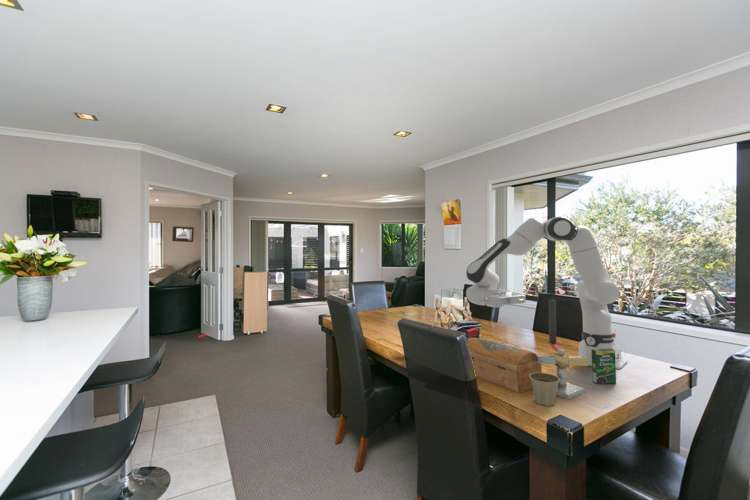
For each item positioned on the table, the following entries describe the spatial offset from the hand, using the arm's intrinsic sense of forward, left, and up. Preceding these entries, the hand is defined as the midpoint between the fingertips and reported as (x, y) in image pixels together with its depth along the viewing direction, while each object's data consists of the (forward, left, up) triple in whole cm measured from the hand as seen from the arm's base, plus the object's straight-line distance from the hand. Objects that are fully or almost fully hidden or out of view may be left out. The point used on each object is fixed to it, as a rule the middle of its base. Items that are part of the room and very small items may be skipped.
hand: (522, 301), depth 152 cm
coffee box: (-13, +26, -30) cm, 42 cm away
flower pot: (+22, +23, -30) cm, 44 cm away
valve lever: (+4, +17, -17) cm, 24 cm away
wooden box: (+15, -1, -30) cm, 34 cm away
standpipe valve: (+8, +21, -30) cm, 38 cm away
